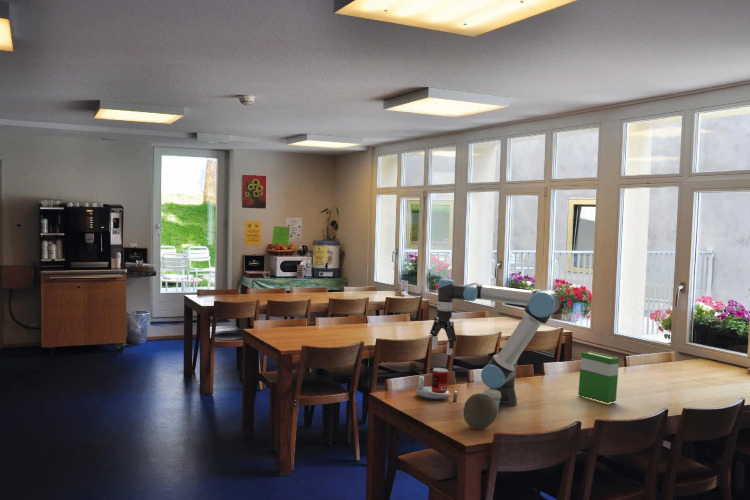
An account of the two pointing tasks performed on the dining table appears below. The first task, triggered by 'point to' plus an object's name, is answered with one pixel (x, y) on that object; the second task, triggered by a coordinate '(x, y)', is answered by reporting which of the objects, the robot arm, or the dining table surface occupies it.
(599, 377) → the hardback book
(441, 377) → the canned food
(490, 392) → the coffee cup
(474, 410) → the cantaloupe
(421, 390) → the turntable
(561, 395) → the dining table surface
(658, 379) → the dining table surface
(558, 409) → the dining table surface
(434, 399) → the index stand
